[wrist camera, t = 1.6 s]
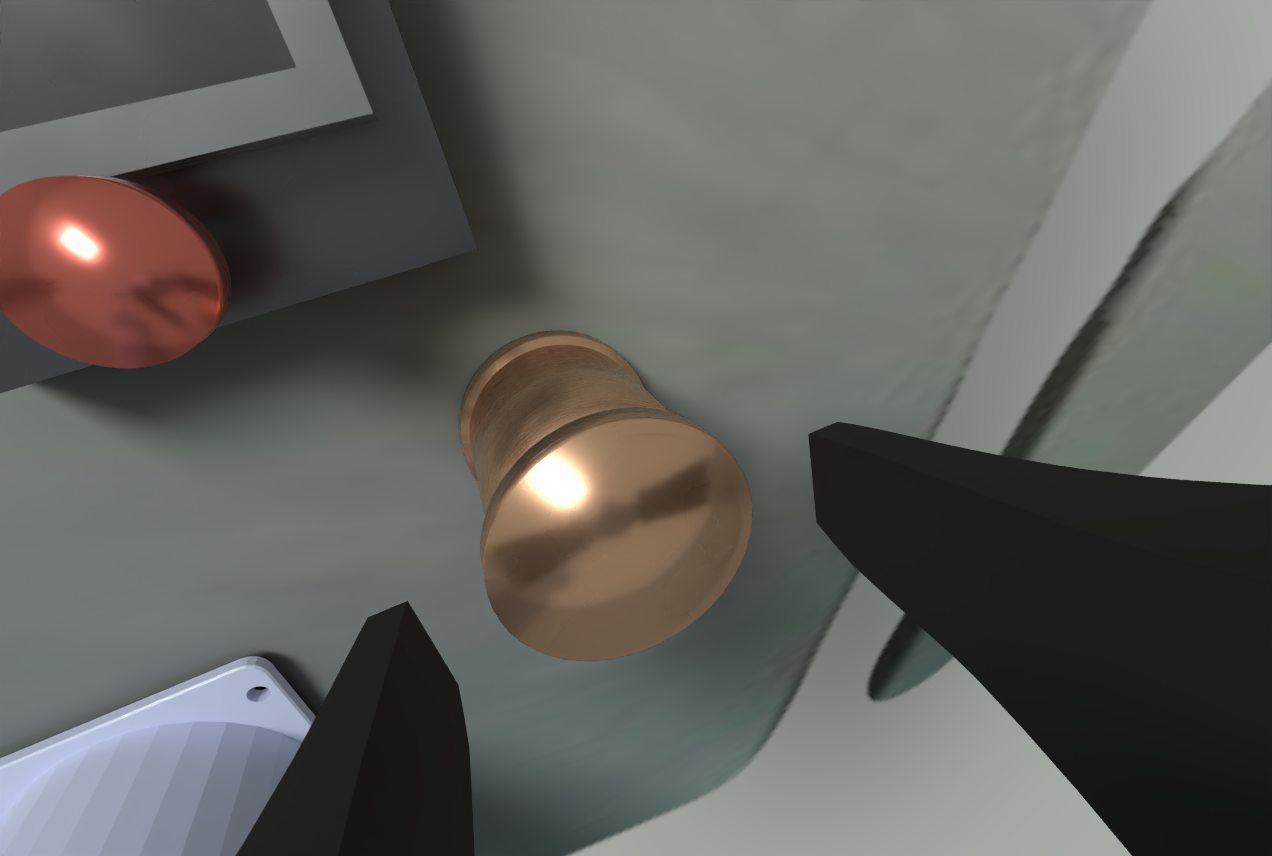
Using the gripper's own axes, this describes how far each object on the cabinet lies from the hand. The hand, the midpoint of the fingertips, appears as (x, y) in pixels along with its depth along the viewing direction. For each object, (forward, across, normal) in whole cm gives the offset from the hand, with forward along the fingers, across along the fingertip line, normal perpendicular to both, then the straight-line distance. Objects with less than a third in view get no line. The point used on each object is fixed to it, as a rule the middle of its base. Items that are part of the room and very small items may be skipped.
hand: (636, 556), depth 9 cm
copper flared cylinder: (+6, 0, 0) cm, 6 cm away
